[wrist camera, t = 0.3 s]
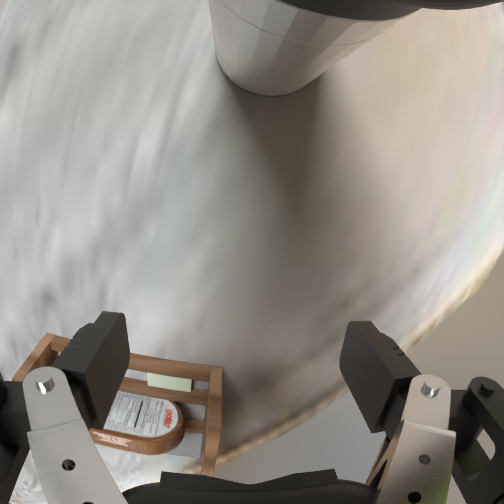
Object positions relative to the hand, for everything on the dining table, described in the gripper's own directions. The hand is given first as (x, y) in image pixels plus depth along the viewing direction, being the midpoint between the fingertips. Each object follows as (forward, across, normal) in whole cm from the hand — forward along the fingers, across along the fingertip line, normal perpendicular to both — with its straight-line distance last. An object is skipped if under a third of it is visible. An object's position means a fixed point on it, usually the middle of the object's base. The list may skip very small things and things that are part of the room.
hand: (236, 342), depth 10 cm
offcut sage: (+19, +6, +17) cm, 26 cm away
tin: (+19, +12, +21) cm, 31 cm away
